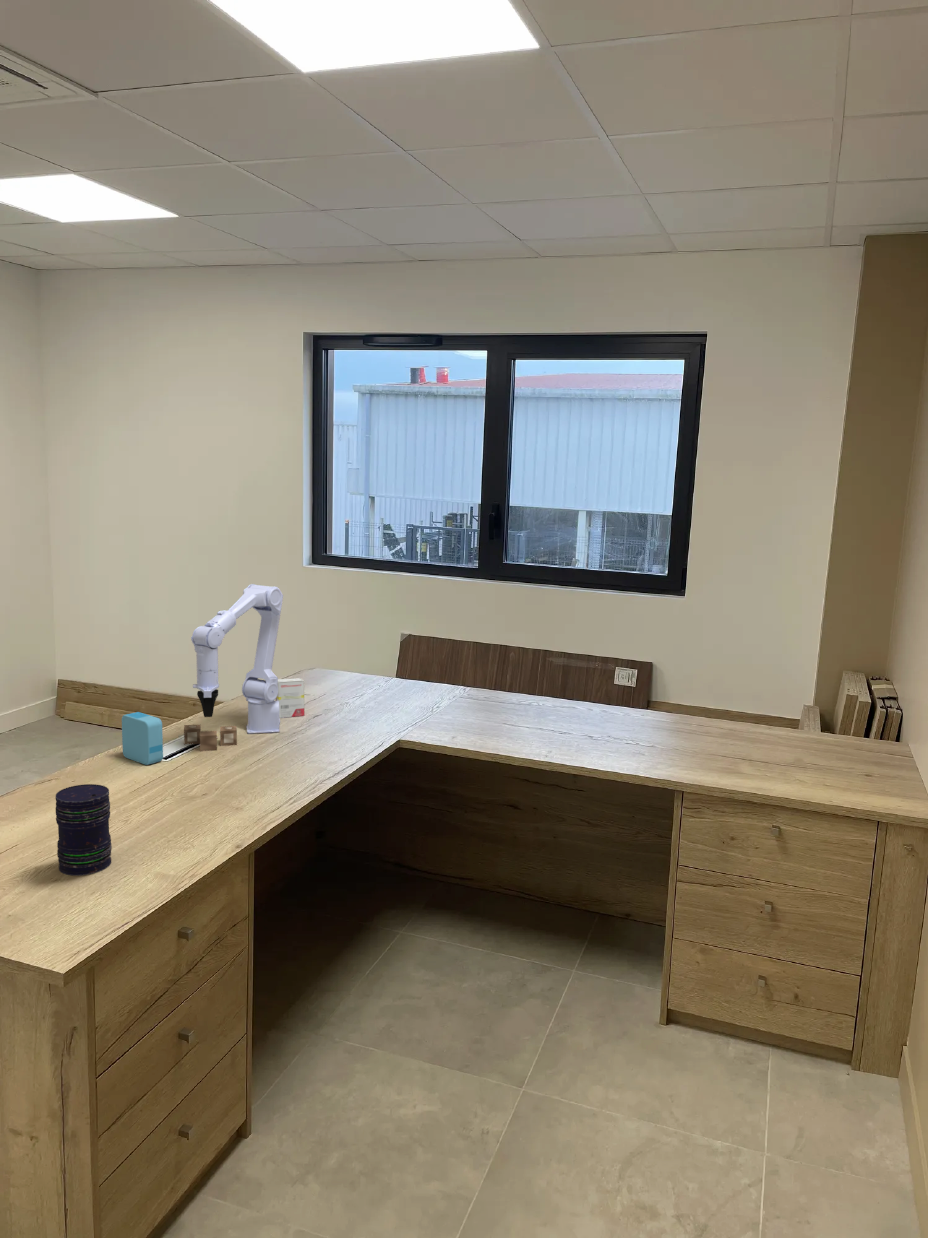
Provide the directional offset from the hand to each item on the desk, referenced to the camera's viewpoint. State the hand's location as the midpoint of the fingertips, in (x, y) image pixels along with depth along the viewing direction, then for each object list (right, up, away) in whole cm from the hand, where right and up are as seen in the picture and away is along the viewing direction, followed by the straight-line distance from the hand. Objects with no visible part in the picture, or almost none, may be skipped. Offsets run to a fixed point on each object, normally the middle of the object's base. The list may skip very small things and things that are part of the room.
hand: (208, 716), depth 249 cm
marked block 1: (-7, -8, +7) cm, 13 cm away
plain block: (0, -9, +2) cm, 9 cm away
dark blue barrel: (-3, -22, -73) cm, 76 cm away
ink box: (+15, -4, +38) cm, 41 cm away
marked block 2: (+4, -9, +7) cm, 12 cm away
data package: (-15, -11, -10) cm, 21 cm away
